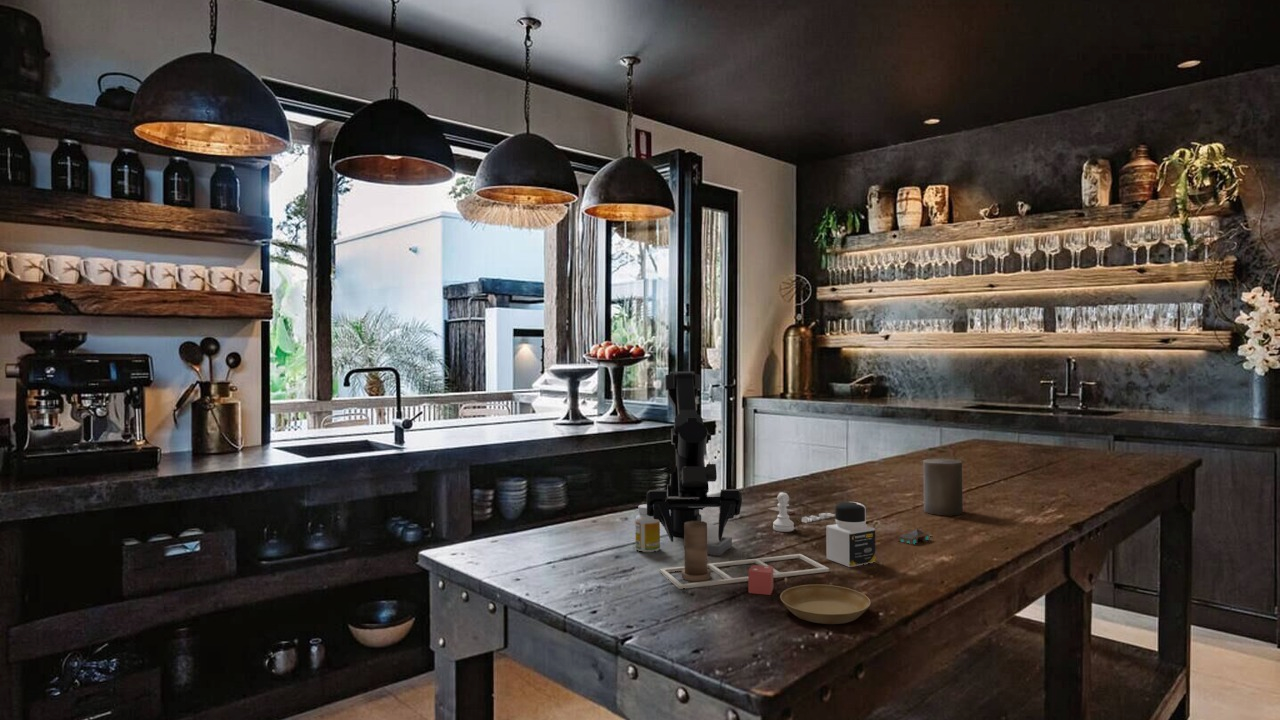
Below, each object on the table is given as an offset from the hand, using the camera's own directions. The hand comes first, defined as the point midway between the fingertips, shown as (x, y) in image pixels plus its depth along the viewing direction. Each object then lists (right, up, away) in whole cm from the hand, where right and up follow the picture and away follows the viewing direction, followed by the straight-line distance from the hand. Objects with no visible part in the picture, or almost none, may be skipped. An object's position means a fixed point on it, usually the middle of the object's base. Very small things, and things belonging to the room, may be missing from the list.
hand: (696, 540), depth 144 cm
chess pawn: (+24, -7, +38) cm, 46 cm away
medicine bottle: (+33, -7, +12) cm, 36 cm away
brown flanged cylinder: (0, -8, +2) cm, 8 cm away
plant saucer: (+20, -8, -18) cm, 28 cm away
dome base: (+4, -7, +21) cm, 23 cm away
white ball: (+4, -7, +22) cm, 23 cm away
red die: (+11, -8, -7) cm, 15 cm away
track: (+10, -7, +5) cm, 13 cm away
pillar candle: (+70, -6, +56) cm, 89 cm away
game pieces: (+40, -7, +43) cm, 60 cm away
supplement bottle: (-9, -7, +22) cm, 25 cm away
